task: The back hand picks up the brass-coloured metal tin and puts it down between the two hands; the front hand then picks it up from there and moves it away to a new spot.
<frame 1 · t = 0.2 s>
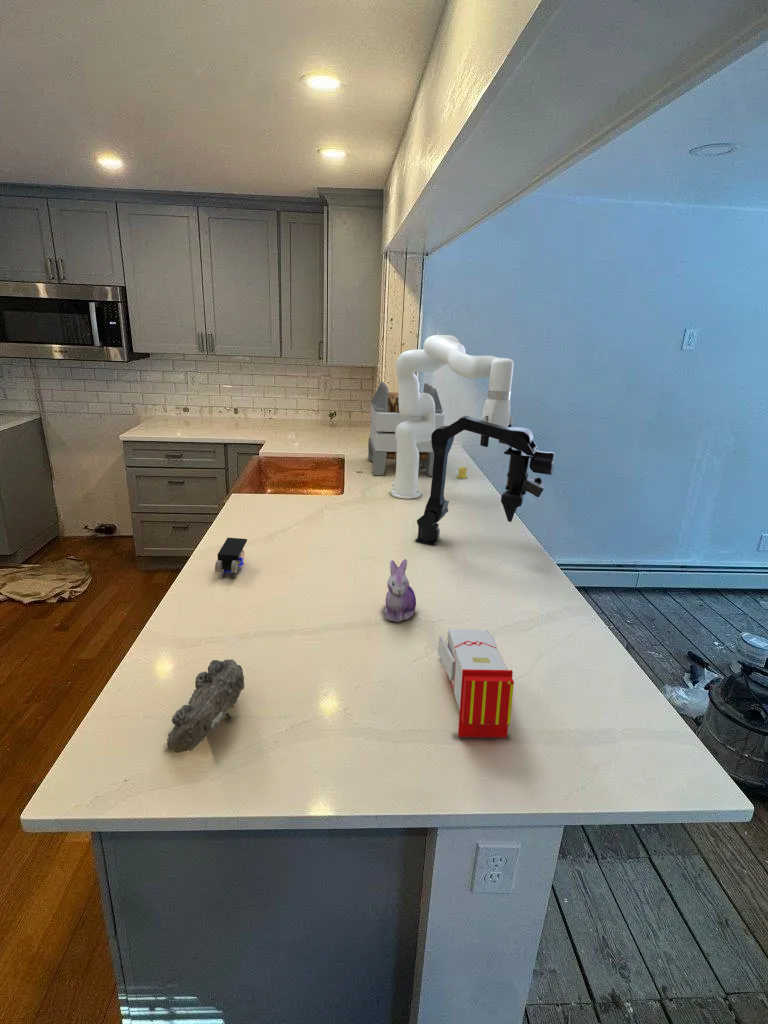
front hand: (511, 517, 180), 14 cm above the counter, tool pointing down, fingers open, 9 cm apart
back hand: (493, 444, 199), 31 cm above the counter, tool pointing down, fingers open, 9 cm apart
transformer: (402, 467, 284), on the counter
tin: (462, 477, 271), on the counter
toy: (469, 691, 119), on the counter
black boxy wheeled piece: (232, 569, 168), on the counter
figurine: (399, 614, 147), on the counter
fossil: (212, 717, 108), on the counter
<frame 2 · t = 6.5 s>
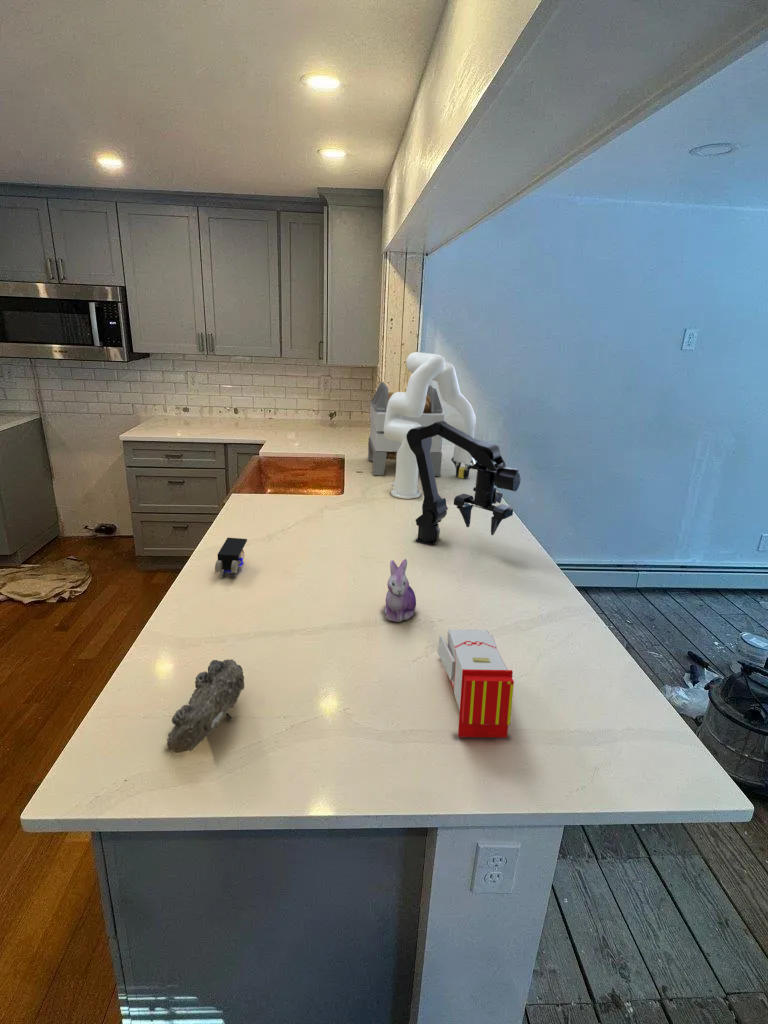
front hand: (480, 530, 182), 9 cm above the counter, tool pointing down, fingers open, 9 cm apart
back hand: (462, 476, 271), 0 cm above the counter, tool pointing down, fingers closed on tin, 3 cm apart
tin: (462, 477, 271), on the counter, touching back hand
everything else where it was.
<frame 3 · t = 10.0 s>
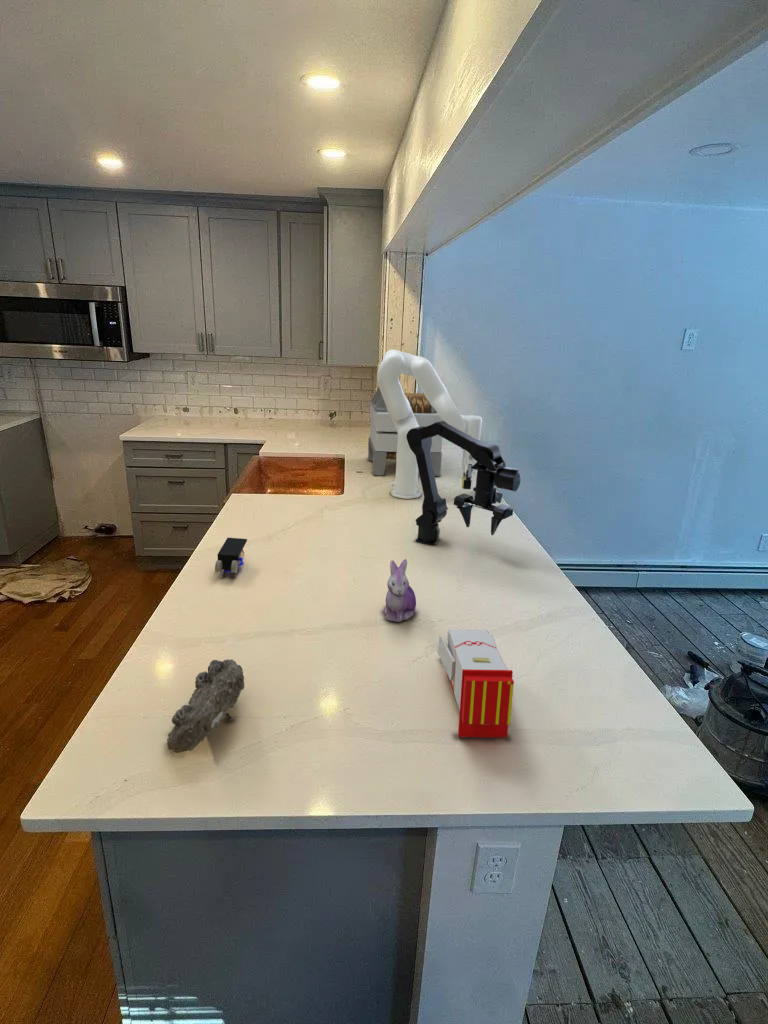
front hand: (480, 530, 182), 9 cm above the counter, tool pointing down, fingers open, 9 cm apart
back hand: (466, 486, 242), 4 cm above the counter, tool pointing down, fingers closed on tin, 3 cm apart
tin: (466, 487, 243), point 4 cm above the counter, touching back hand
everything else where it was.
when the back hand's fingers open (2 cm above the counter, at t = 13.9 s): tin drops 1 cm, on the counter.
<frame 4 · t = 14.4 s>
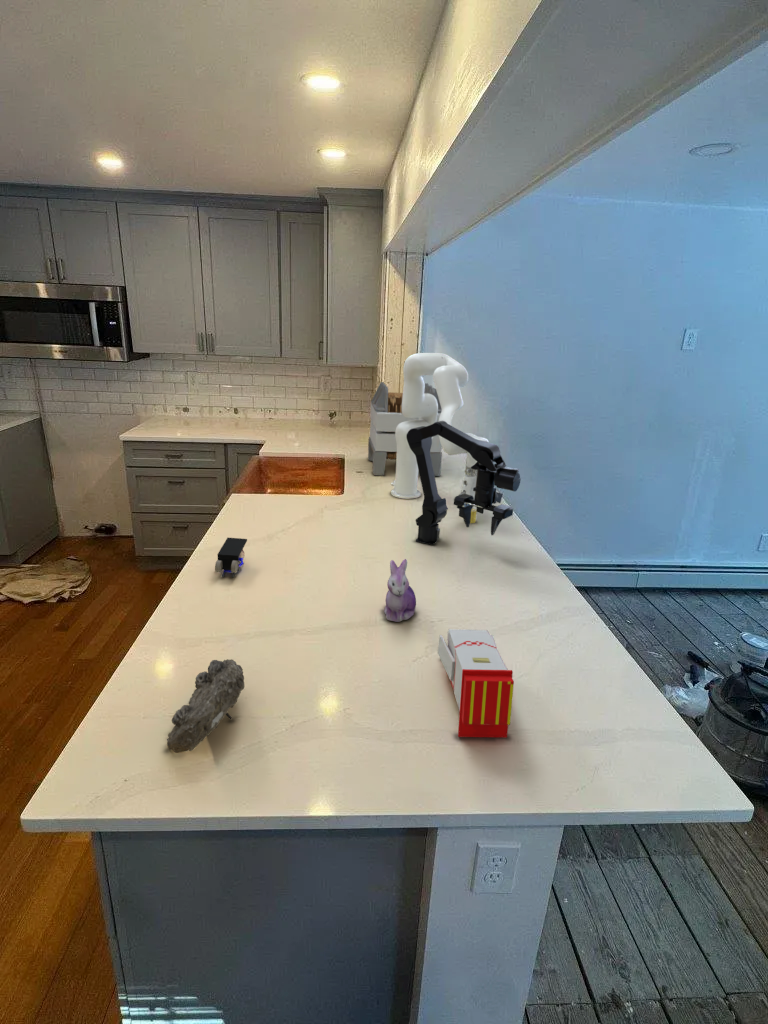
front hand: (480, 530, 182), 9 cm above the counter, tool pointing down, fingers open, 9 cm apart
back hand: (471, 514, 214), 3 cm above the counter, tool pointing down, fingers open, 9 cm apart
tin: (470, 521, 215), on the counter
everything else where it was.
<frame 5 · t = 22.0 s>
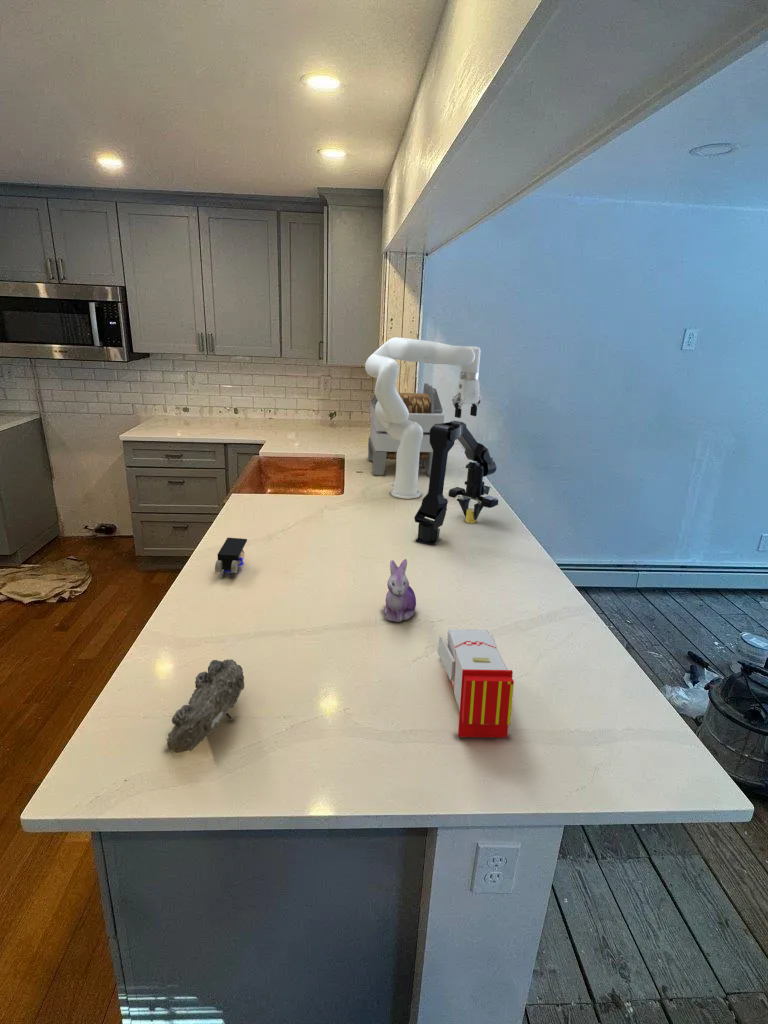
front hand: (470, 518, 214), 1 cm above the counter, tool pointing down, fingers closed on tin, 4 cm apart
back hand: (465, 416, 247), 32 cm above the counter, tool pointing down, fingers open, 9 cm apart
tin: (470, 521, 215), on the counter, touching front hand
everything else where it was.
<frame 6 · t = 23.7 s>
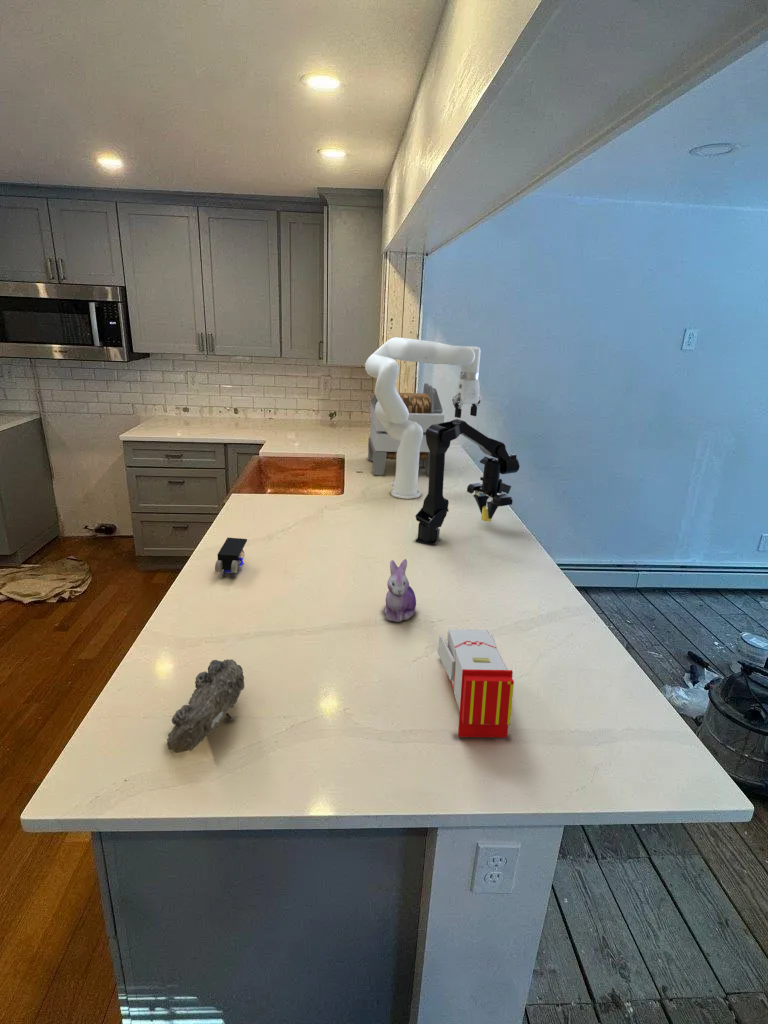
front hand: (486, 516, 206), 5 cm above the counter, tool pointing down, fingers closed on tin, 4 cm apart
back hand: (465, 416, 247), 32 cm above the counter, tool pointing down, fingers open, 9 cm apart
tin: (486, 519, 206), point 4 cm above the counter, touching front hand
everything else where it was.
when the front hand's fingers open (2 cm above the counter, at t = 25.7 s): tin drops 1 cm, on the counter.
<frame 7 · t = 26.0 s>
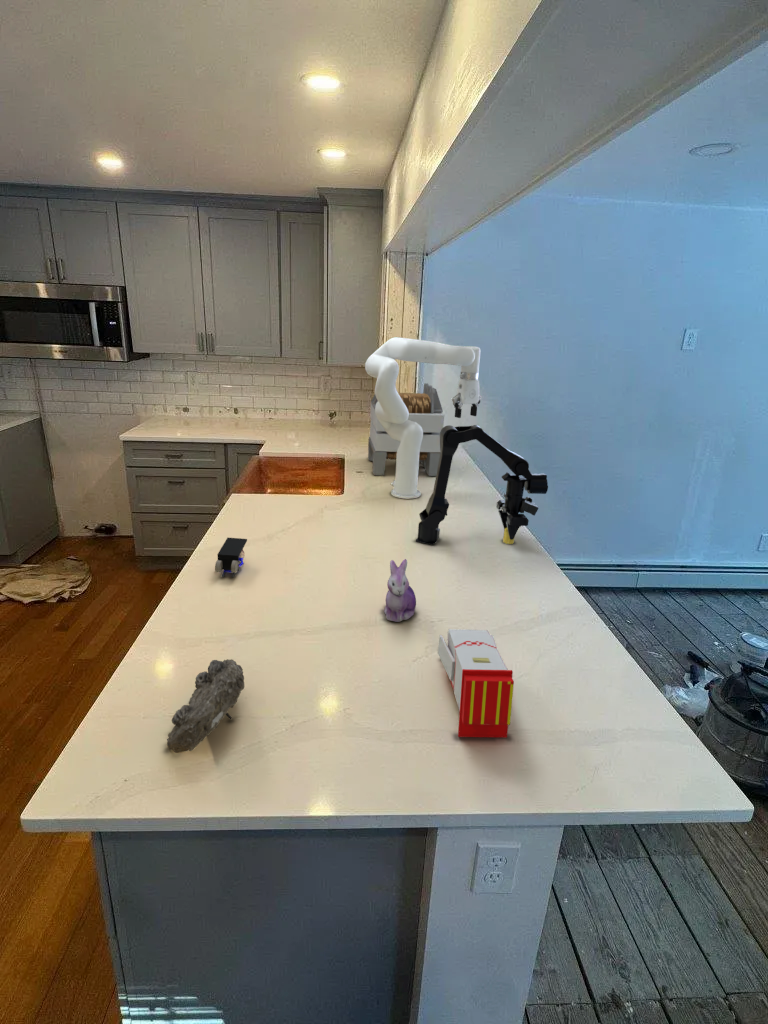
front hand: (509, 535, 196), 2 cm above the counter, tool pointing down, fingers open, 6 cm apart
back hand: (465, 416, 247), 32 cm above the counter, tool pointing down, fingers open, 9 cm apart
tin: (508, 542, 197), on the counter
everything else where it was.
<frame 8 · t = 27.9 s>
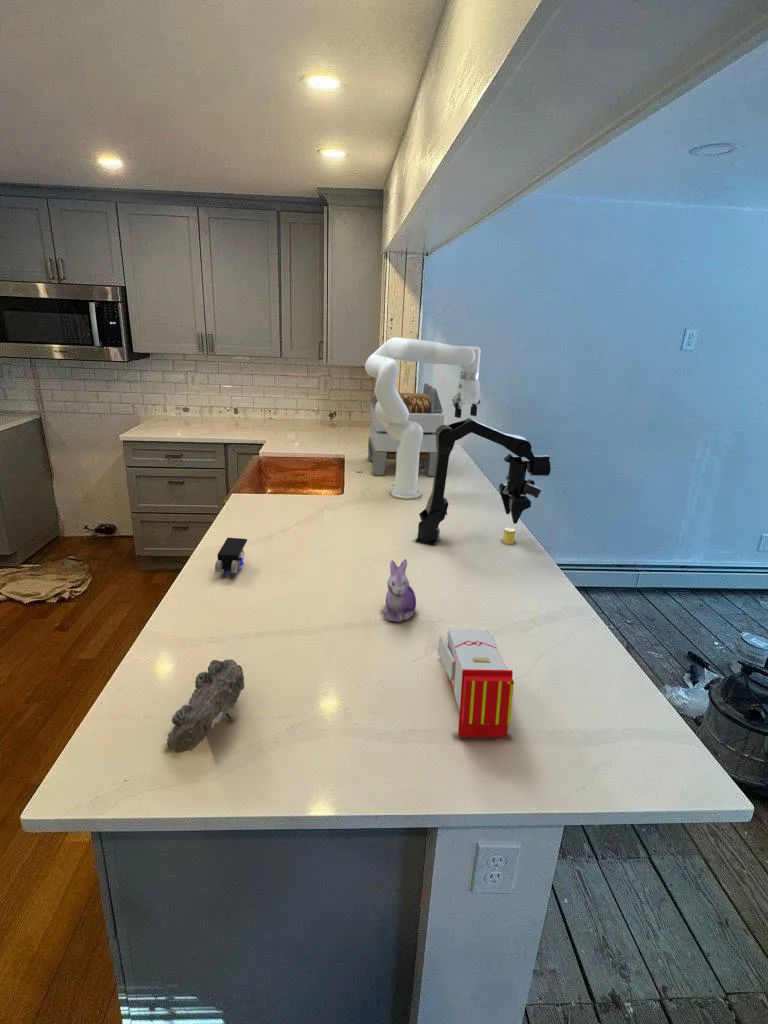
front hand: (511, 518, 194), 9 cm above the counter, tool pointing down, fingers open, 9 cm apart
back hand: (465, 416, 247), 32 cm above the counter, tool pointing down, fingers open, 9 cm apart
nothing on the counter moved.
at the end: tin inside the target area (0.0 cm from its centre), on the counter; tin tilted 0°; the two hands never held the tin at the same time; the front hand is holding nothing; the back hand is holding nothing; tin at rest at the end (0.0 cm/s) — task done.
